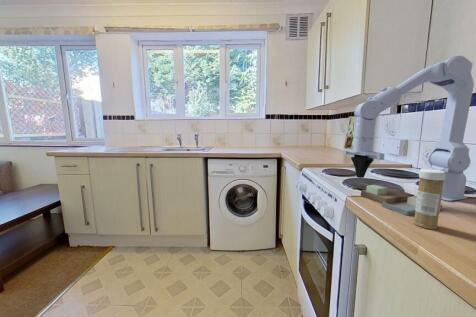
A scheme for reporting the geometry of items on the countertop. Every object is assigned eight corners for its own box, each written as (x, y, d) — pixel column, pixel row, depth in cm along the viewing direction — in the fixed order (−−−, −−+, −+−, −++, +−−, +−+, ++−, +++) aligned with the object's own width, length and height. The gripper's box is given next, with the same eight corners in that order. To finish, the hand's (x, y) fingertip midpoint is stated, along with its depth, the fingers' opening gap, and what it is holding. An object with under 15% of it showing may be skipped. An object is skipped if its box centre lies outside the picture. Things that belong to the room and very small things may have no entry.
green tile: (375, 190, 75) (375, 184, 75) (386, 193, 72) (387, 187, 71) (366, 191, 74) (366, 185, 74) (377, 195, 70) (377, 188, 70)
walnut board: (386, 192, 79) (387, 187, 79) (413, 201, 71) (414, 194, 71) (360, 195, 76) (361, 190, 75) (385, 205, 67) (386, 198, 67)
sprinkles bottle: (440, 226, 53) (448, 170, 51) (433, 231, 51) (442, 173, 49) (416, 219, 57) (424, 167, 55) (409, 224, 54) (416, 169, 52)
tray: (414, 201, 71) (415, 197, 71) (441, 209, 64) (442, 205, 64) (381, 206, 66) (382, 202, 66) (406, 215, 60) (407, 211, 59)
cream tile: (416, 202, 69) (417, 195, 69) (430, 206, 65) (431, 200, 65) (407, 203, 68) (407, 197, 67) (421, 208, 64) (422, 201, 64)
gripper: (338, 136, 82) (335, 173, 84) (374, 139, 68) (369, 183, 70) (353, 136, 84) (350, 172, 86) (391, 139, 71) (386, 181, 73)
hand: (360, 177), depth 78 cm, fingers closed
